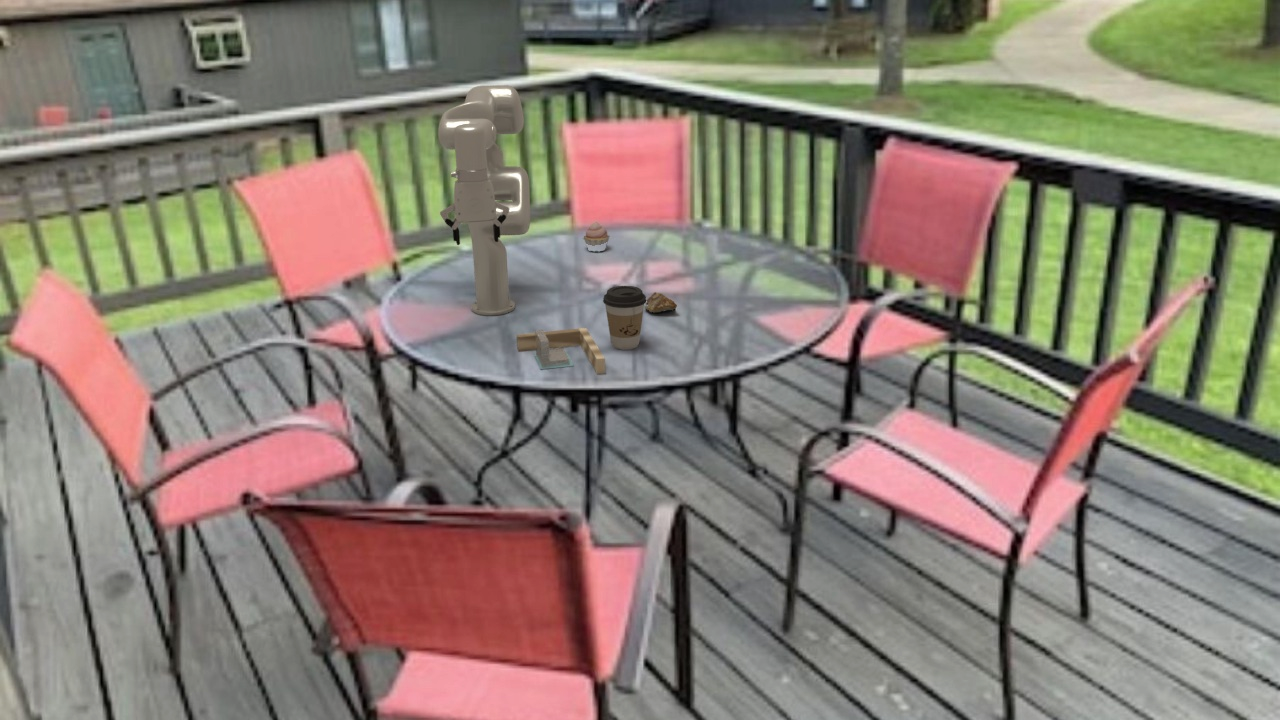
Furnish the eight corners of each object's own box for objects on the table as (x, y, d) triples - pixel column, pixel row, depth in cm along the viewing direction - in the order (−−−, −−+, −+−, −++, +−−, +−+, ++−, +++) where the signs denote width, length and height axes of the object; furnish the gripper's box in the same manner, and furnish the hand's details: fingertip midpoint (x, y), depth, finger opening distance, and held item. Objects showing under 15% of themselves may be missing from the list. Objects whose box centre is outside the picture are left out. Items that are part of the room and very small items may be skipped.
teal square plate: (534, 356, 256) (534, 355, 256) (567, 353, 258) (567, 352, 258) (540, 369, 248) (540, 369, 248) (574, 366, 250) (574, 365, 250)
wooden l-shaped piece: (517, 348, 261) (516, 334, 260) (586, 341, 266) (585, 327, 264) (531, 381, 242) (530, 366, 240) (605, 373, 246) (604, 358, 245)
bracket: (536, 356, 256) (534, 330, 253) (562, 353, 258) (561, 327, 255) (542, 367, 249) (540, 341, 246) (569, 364, 251) (568, 338, 248)
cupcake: (613, 247, 348) (613, 219, 344) (605, 254, 340) (604, 226, 336) (588, 245, 350) (587, 217, 347) (579, 252, 342) (578, 224, 338)
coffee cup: (613, 355, 257) (612, 300, 251) (597, 340, 266) (596, 287, 260) (653, 348, 261) (653, 294, 255) (636, 334, 270) (636, 282, 265)
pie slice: (650, 303, 280) (636, 292, 294) (651, 318, 281) (637, 306, 295) (682, 299, 282) (667, 289, 296) (683, 314, 283) (668, 303, 297)
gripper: (438, 180, 241) (444, 248, 247) (509, 176, 245) (513, 243, 252) (435, 174, 248) (441, 240, 254) (505, 170, 252) (508, 235, 258)
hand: (477, 242), depth 253 cm, fingers open, 9 cm apart
